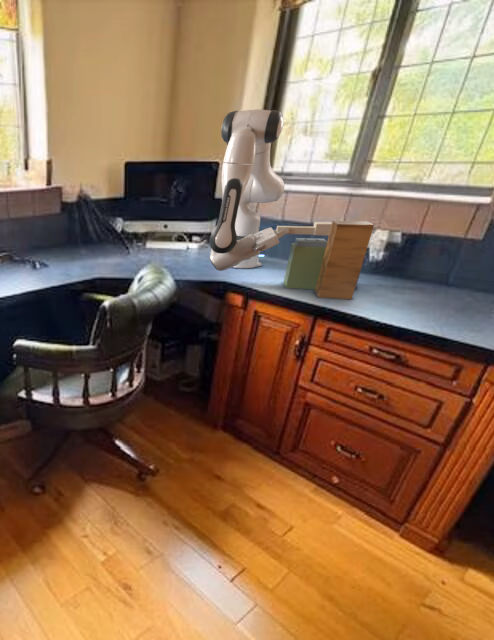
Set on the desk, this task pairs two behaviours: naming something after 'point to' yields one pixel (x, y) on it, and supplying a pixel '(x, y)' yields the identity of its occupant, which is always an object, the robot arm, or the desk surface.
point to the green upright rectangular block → (304, 263)
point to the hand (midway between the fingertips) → (287, 228)
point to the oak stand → (343, 259)
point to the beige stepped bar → (309, 229)
